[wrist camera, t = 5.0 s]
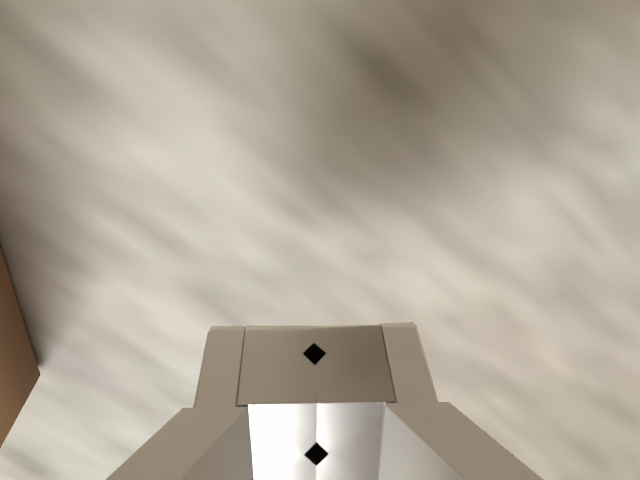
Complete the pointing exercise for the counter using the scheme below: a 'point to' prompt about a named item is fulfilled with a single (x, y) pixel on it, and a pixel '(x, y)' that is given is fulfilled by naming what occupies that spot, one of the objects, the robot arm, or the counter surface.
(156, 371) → the counter surface
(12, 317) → the t block
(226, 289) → the counter surface
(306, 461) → the robot arm
